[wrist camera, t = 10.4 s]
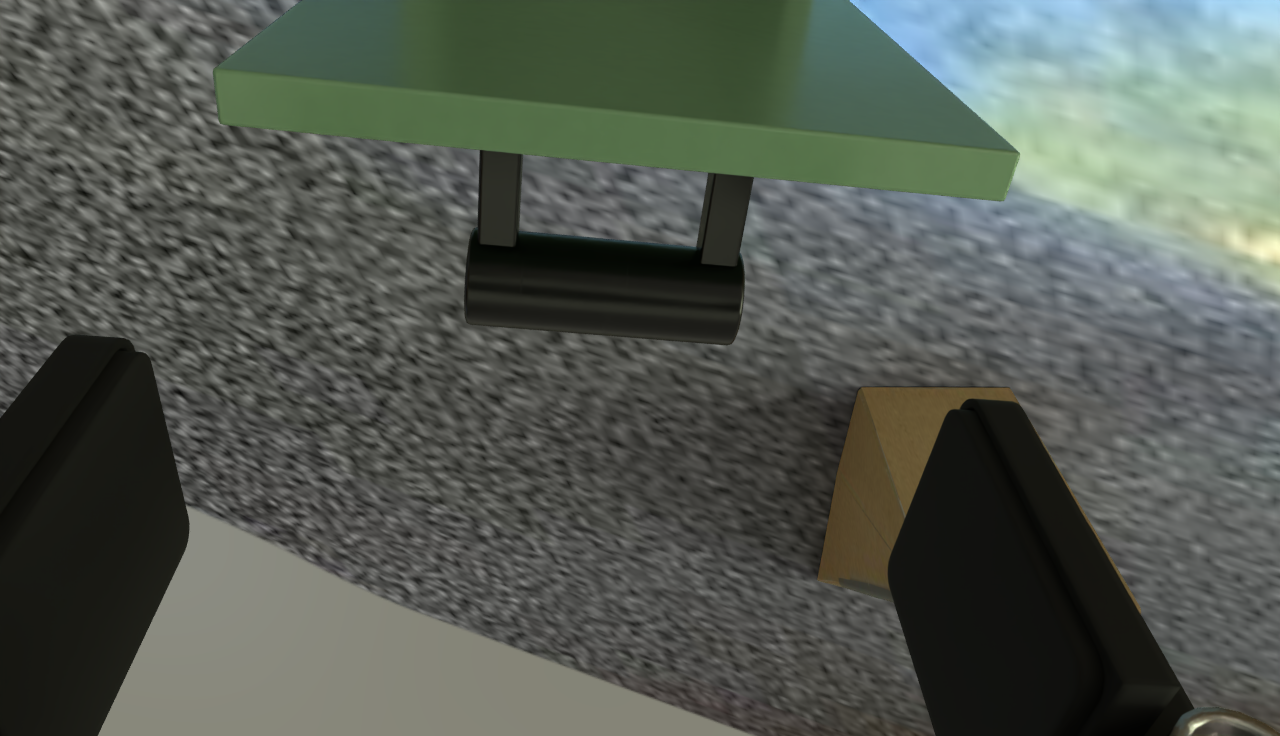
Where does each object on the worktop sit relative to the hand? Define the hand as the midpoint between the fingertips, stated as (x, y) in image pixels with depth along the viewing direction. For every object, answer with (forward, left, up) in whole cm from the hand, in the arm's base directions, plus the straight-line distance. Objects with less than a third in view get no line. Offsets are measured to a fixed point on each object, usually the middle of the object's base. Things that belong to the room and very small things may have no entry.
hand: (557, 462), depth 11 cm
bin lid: (-2, +1, -12) cm, 12 cm away
